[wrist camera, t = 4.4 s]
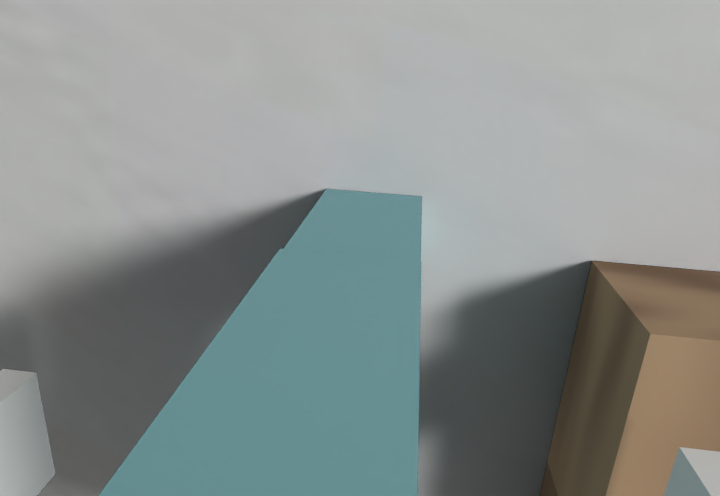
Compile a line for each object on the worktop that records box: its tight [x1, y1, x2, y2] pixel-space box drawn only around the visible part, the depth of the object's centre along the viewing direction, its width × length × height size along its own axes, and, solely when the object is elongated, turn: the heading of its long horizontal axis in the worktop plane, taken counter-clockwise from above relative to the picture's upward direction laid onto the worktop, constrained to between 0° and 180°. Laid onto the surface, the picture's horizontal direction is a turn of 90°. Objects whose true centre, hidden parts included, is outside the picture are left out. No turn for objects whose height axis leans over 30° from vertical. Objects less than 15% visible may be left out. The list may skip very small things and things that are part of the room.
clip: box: [99, 189, 422, 496], centre depth 11 cm, size 3×9×11 cm, turn 177°
